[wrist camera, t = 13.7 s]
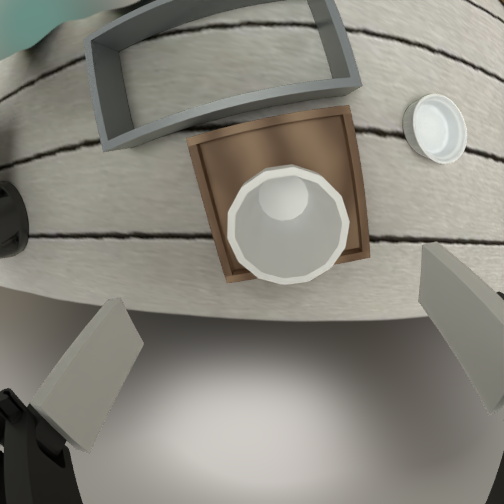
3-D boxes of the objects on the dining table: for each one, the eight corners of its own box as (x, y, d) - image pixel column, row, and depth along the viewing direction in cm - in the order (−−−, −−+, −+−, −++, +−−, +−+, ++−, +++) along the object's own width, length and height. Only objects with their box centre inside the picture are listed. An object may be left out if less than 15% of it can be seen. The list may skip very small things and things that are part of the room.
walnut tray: (229, 274, 39) (226, 283, 36) (192, 138, 32) (186, 138, 29) (364, 249, 36) (370, 257, 33) (343, 107, 29) (349, 105, 26)
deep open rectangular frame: (131, 147, 32) (103, 152, 26) (111, 49, 26) (83, 38, 20) (345, 95, 28) (362, 86, 22) (311, -8, 22) (318, -34, 16)
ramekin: (389, 102, 28) (403, 98, 24) (439, 93, 26) (456, 90, 22) (408, 166, 31) (424, 171, 27) (455, 153, 29) (473, 157, 25)
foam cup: (337, 195, 32) (372, 229, 20) (285, 246, 35) (290, 303, 23) (279, 140, 30) (284, 140, 18) (228, 197, 33) (202, 232, 21)
